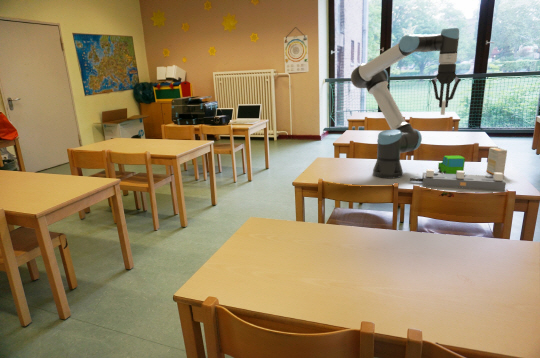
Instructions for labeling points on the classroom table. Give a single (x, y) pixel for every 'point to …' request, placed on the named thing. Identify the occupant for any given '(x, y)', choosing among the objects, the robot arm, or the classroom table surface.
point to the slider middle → (460, 174)
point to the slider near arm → (429, 173)
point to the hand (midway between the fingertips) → (442, 114)
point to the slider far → (498, 176)
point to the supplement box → (496, 160)
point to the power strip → (462, 182)
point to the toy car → (451, 164)
